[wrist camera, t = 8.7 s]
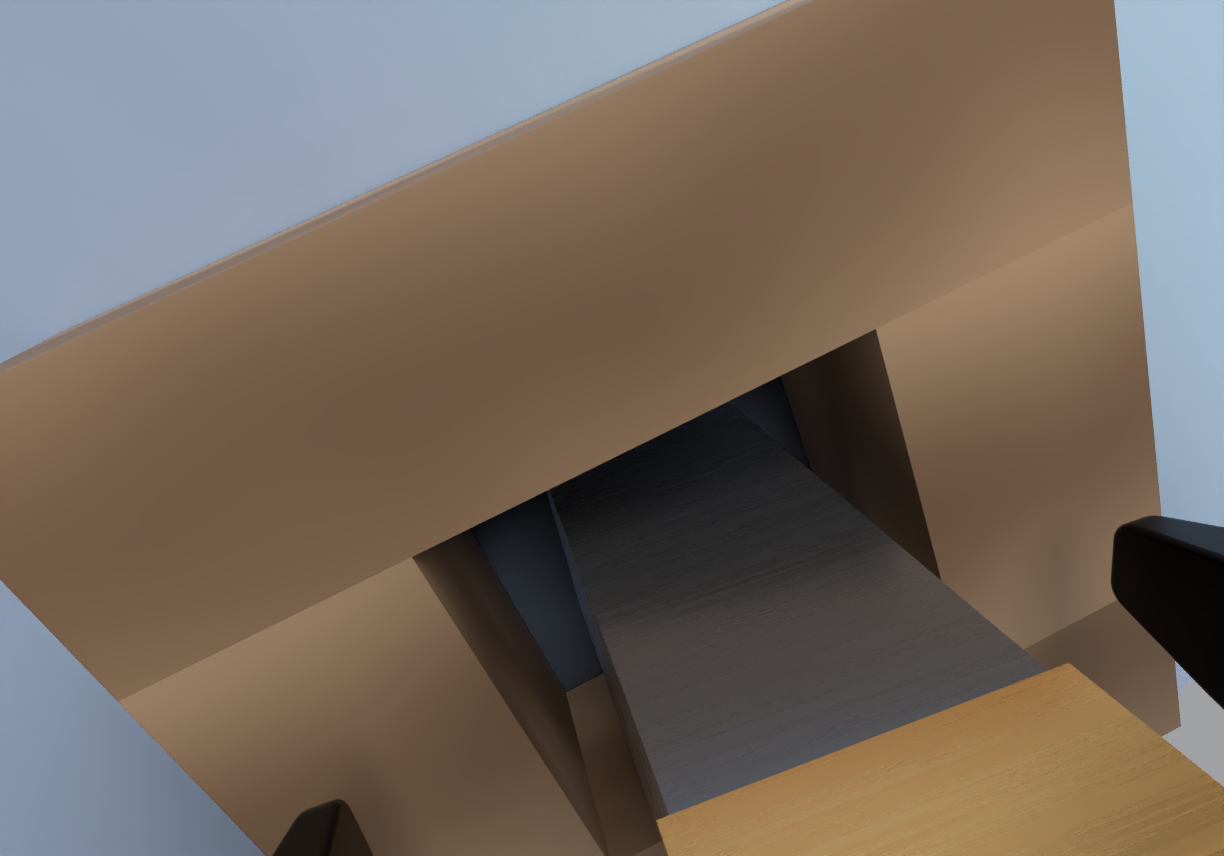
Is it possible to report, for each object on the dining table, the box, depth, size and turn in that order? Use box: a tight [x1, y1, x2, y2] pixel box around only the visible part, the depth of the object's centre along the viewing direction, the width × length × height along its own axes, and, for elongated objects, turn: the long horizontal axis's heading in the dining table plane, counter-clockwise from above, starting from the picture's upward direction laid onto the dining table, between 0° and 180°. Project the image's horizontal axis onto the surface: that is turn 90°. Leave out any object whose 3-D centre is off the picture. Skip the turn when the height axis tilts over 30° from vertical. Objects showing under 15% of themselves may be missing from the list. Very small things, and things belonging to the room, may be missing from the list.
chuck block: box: [0, 0, 1181, 856], centre depth 11 cm, size 12×12×4 cm
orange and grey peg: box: [546, 402, 1224, 856], centre depth 8 cm, size 3×3×8 cm
